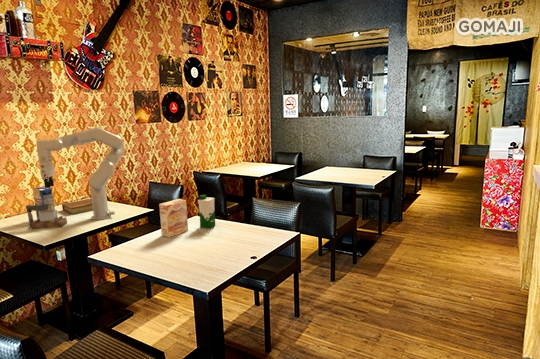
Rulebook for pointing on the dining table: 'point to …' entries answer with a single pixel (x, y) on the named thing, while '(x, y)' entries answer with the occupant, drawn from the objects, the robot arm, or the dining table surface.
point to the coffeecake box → (173, 217)
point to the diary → (78, 206)
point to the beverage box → (43, 197)
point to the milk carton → (206, 212)
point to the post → (30, 218)
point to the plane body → (49, 223)
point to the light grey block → (48, 215)
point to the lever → (39, 207)
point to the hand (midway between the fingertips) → (49, 186)
